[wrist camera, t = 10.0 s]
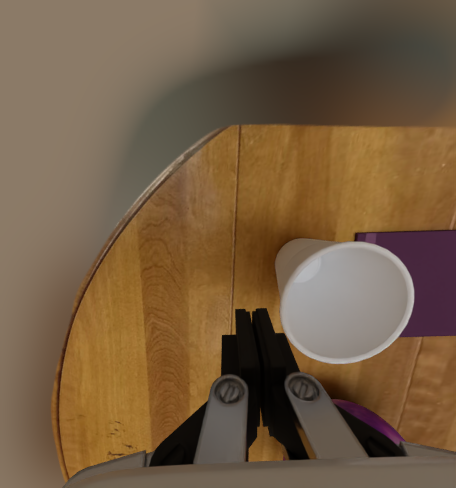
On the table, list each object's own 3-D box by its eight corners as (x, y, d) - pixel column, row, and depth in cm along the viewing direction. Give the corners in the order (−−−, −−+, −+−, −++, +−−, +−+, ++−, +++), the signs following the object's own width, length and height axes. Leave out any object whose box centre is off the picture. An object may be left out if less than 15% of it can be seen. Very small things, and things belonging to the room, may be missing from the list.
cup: (320, 308, 28) (378, 378, 18) (247, 286, 28) (261, 346, 17) (353, 236, 26) (441, 265, 16) (275, 210, 26) (310, 223, 15)
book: (355, 232, 26) (358, 233, 26) (506, 228, 26) (513, 229, 26) (344, 336, 29) (347, 339, 29) (479, 332, 29) (485, 335, 29)
